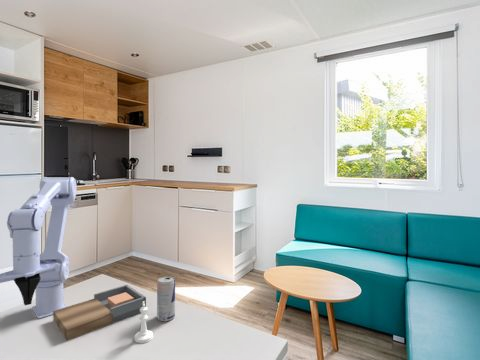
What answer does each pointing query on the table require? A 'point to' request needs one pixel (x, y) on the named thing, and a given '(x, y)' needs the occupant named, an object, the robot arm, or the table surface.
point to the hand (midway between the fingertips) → (27, 303)
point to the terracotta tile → (119, 299)
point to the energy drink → (166, 298)
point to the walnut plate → (82, 318)
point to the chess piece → (143, 328)
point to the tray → (123, 309)
